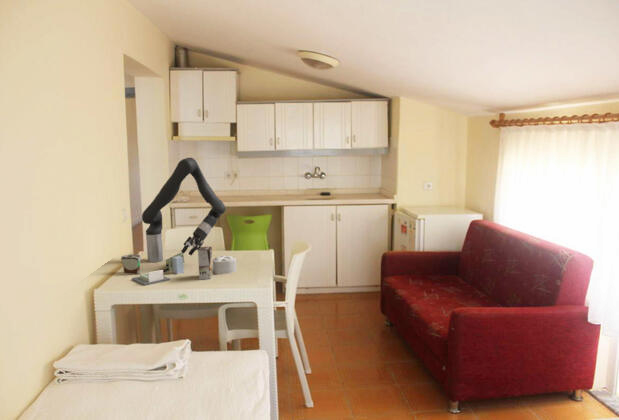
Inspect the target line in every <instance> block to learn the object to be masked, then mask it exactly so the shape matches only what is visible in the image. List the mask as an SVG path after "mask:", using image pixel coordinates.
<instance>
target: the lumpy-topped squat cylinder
mask: <svg viewBox="0 0 619 420" xmlns="http://www.w3.org/2000/svg"><path fill="white" fill-rule="evenodd" d="M212 267H213V274H214V275H226V274H232V273H236V272H237V271H238V270H237V268H238V267H237V258H236V257H234V256H231V255H222V254H221V256H216V257H214V258H212Z"/></svg>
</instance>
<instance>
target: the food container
mask: <svg viewBox="0 0 619 420" xmlns="http://www.w3.org/2000/svg"><path fill="white" fill-rule="evenodd" d="M120 260H121V261H122V268H123V269H122V270H123V273H124V274H126V275H127V274H128V275H140V274H141V260H142V257H141V255H140V254H126V255H122V256H121V257H120Z"/></svg>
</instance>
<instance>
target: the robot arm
mask: <svg viewBox="0 0 619 420" xmlns="http://www.w3.org/2000/svg"><path fill="white" fill-rule="evenodd" d="M188 175H191V176H192V178H194V181H195V183H196V185H197V189H198V192H199V194H200V195H201V197H202V198H203V200H204V201H205V202H206V203H207V204H209V205H210V206H211V209H210V210H209V212H208V214H207V215H206V216H205V217H204V218H203V220H202V221H201V222H200V224H199V225H198V226H197V227H196V229H194V231H193V232H192V237H191V236H189V237H188V238H187V239H186V240H185V242H184V243H183V248H182V249H181V250H180V251H181V252H180V253H184V254H185V253H186V252H187V250H188V249H189V248H190V247H192V248H191V249H190V250H189V252H188V255H189V256H192V255H194V253H195V252H196V251H198V250H199V248H200V247H203V244H204V243H205V242H204V241H205V240H206V238H207V237H208V235H209V234H210V232H211V231H212V229H213V228H214V226H215V225H216V224H217V221H218V220H219V219H220V218H221V216H222V215H223V214H224V213H225V212H226V205H225V204H224V202H223V201H222V200H221V198H219V197H218V196H217V195H216V193H215V192H214V190H213V189H212V187H211V186H210V184H209V183H208V181H207V180H206V177H205V176H204V173H203V172H202V170H201V168H200V166H199V164H198V162H197V160H196V158H195V159H194V158H193V157H185V158H183V159H181V160H180V161H178V163H177V165H176V166H175V169H174V170H173V172H172V174H171V175H170V176H169V178H168V179H167V181H165V183H164V184H163V185H162V187H161V189H160V190H159V192H158V193H157V194H156V196H155V197H154V198H153V200H152V201H151V202H150V203H149V205H148V206H147V207H146V208H145V210H143V213H142V215H141V221H142V222H143V223H144V224H146V225H149V226H148V228H147V229H145V237H146V239H145V241H146V253H147V263H148V262H149V263H157V262H162V261H164V254H163V252H164V251H163V239H162V230H163V215H162V211H161V210H162V209H163V208H165V207H166V206H167V205H168V204H170V202H172V201H173V200H174V198H175V197H176V196H177V194H178V193H179V191H180V188H181V185H182V182H184V180H185V179H186V177H187V176H188Z"/></svg>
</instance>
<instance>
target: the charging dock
mask: <svg viewBox="0 0 619 420" xmlns="http://www.w3.org/2000/svg"><path fill="white" fill-rule="evenodd" d="M163 270H164V269H160V270H154V271H149V272H147V273H140V274H139V276H136V277H131V280H132V281H133V282H136V283H138V284H140V285H142V286H150V285H154V284H159V283H164V282H168V281H170V280H171V279H170V277H167V276H165V275H164V272H163Z"/></svg>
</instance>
